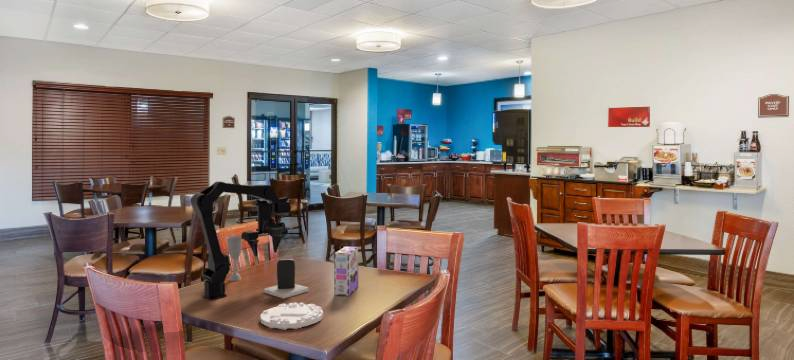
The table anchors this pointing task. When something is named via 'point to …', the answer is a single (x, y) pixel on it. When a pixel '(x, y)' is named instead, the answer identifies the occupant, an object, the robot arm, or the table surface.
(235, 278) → the chalice
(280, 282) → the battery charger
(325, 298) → the table surface
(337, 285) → the candy box
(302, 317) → the white round plaque
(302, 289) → the tray
